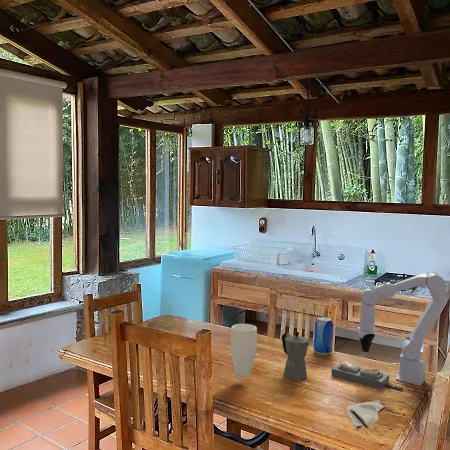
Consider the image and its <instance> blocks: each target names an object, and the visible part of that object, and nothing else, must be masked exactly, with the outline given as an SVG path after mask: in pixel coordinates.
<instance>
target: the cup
mask: <svg viewBox="0 0 450 450" xmlns="http://www.w3.org/2000/svg"><path fill="white" fill-rule="evenodd" d="M230 329H231V330H230V331H231V332H230V356H231V361H232V366H233V370H234V372H235V375H236V376H237V377H239V378H248V377H249V376H250V374H251V372H252V368H253V366H254V364H255V359H256V355H257V347H258V346H257V344H258V328H257V326H256V325H253V324H250V323H249V324H248V323H236V324H233V325H232V326H231V328H230Z"/></svg>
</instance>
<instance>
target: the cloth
mask: <svg viewBox="0 0 450 450" xmlns="http://www.w3.org/2000/svg"><path fill="white" fill-rule="evenodd" d="M346 408H347V409H346V411H347V414H348V416H349V419H350V420H351V422H352V425H353V427H354V428H355V430H356V431H358V430H357V428H358V427H361V428H362V427H364V426H365V425H366V427H367V428H368V429H369V428H370V427H371V426H372V425H374V424H375V423H376V422H377V421H378V420H379V412H380V410H382V409H384V408H385V405H382V404H381V400H372V401H365V402H361V403H356V404H352V405H348V406H346Z"/></svg>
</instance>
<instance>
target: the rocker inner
mask: <svg viewBox="0 0 450 450" xmlns="http://www.w3.org/2000/svg"><path fill="white" fill-rule="evenodd" d="M362 372H364V373H368V374H378V373H379V372H381V369H379V368H366V369H365V370H363V371H362Z"/></svg>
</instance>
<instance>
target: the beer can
mask: <svg viewBox="0 0 450 450" xmlns="http://www.w3.org/2000/svg"><path fill="white" fill-rule="evenodd" d="M313 335H314V336H313V351H314V352H315V354H316V353H317V355H320V356H329V355H331V354H332V352H333V344H334V343H333V341H334V323H333V321H332V318H331V317H327V316H318V317H317V318H316V320H315V322H314V334H313Z"/></svg>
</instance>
